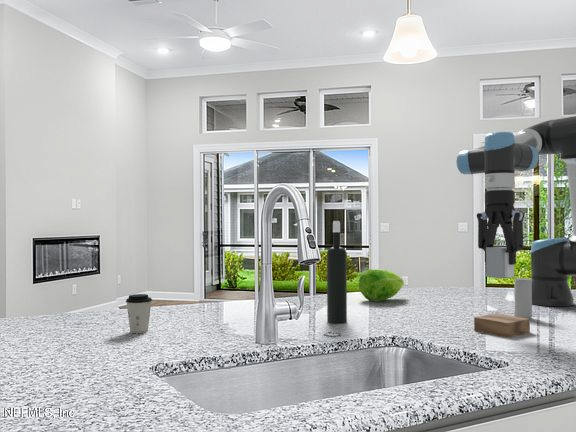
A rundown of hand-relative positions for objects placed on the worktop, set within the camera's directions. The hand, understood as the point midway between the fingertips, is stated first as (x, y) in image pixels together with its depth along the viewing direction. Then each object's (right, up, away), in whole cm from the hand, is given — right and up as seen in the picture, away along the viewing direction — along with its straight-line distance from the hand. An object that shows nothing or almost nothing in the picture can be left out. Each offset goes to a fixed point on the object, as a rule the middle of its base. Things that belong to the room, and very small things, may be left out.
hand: (500, 275), depth 139 cm
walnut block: (0, -15, 0) cm, 15 cm away
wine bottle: (-43, -15, +14) cm, 48 cm away
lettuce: (-21, -16, +54) cm, 60 cm away
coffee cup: (-98, -16, +1) cm, 99 cm away
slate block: (0, 0, 0) cm, 0 cm away
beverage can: (+15, -15, +18) cm, 28 cm away
